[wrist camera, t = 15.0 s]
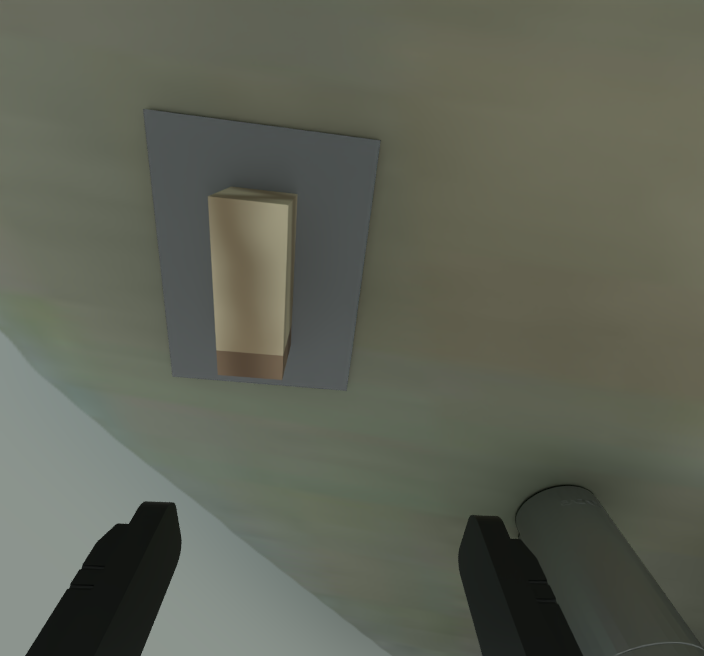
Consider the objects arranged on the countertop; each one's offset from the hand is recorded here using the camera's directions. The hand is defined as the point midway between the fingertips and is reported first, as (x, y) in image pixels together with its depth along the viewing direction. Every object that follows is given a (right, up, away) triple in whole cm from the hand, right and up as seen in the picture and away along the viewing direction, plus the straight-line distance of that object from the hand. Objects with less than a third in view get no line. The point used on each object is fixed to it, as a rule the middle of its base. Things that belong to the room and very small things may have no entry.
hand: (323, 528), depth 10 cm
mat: (-6, +10, +19) cm, 22 cm away
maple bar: (-6, +10, +18) cm, 21 cm away
